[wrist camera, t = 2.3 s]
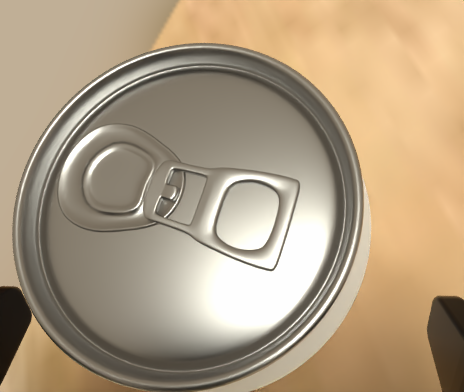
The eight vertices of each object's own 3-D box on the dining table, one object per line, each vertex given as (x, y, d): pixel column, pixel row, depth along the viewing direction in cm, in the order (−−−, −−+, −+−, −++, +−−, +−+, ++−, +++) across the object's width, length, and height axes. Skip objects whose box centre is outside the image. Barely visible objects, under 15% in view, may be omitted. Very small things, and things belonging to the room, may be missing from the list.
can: (213, 190, 18) (85, 0, 7) (341, 225, 17) (436, 52, 6) (168, 317, 17) (-85, 330, 6) (304, 368, 15) (334, 530, 4)
